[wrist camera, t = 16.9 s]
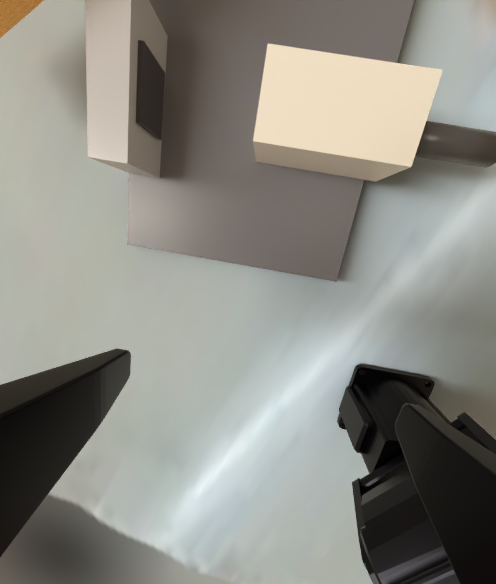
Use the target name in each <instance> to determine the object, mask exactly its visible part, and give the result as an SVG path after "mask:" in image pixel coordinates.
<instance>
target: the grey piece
mask: <svg viewBox="0 0 496 584" xmlns="http://www.w3.org/2000/svg"><path fill="white" fill-rule="evenodd" d="M413 3H414V0H85V31H86V82H87V132H88V157H89V158H92V159H94V160H97V161H100V162H102V163H105V164H107V165H110V166H112V167H115V168H118V169H120V170H123V171H125V172H128V173H129V200H128V241H127V244H129V245H134V246H140V247H145V248H151V249H157V250H162V251H168V252H173V253H179V254H185V255H190V256H196V257H202V258H207V259H213V260H218V261H224V262H230V263H235V264H241V265H247V266H252V267H258V268H263V269H269V270H275V271H280V272H286V273H292V274H297V275H303V276H308V277H314V278H320V279H325V280H331V281H337V277H338V273H339V270H340V266H341V263H342V259H343V255H344V252H345V248H346V245H347V241H348V237H349V234H350V230H351V227H352V223H353V219H354V216H355V212H356V209H357V205H358V201H359V198H360V194H361V191H362V187H363V183H364V180H363V179H357V178H351V177H345V176H339V175H333V174H327V173H321V172H315V171H309V170H302V169H296V168H290V167H284V166H278V165H272V164H266V163H260V162H256V157H255V151H254V145H253V137H254V131H255V124H256V118H257V111H258V104H259V98H260V91H261V84H262V78H263V71H264V65H265V58H266V51H267V45H268V44H275V45H282V46H288V47H295V48H301V49H308V50H315V51H321V52H328V53H334V54H341V55H348V56H354V57H361V58H367V59H374V60H380V61H387V62H394V63H397V61H398V57H399V54H400V50H401V46H402V43H403V39H404V36H405V32H406V28H407V25H408V21H409V18H410V14H411V10H412V7H413Z"/></svg>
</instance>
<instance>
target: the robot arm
mask: <svg viewBox="0 0 496 584" xmlns="http://www.w3.org/2000/svg"><path fill="white" fill-rule="evenodd" d="M130 364H131V354H130V352H129V351H128V350H123V349H114V350H111V351H108V352H104V353H101V354H98V355H95V356H92V357H88V358H85V359H82V360H79V361H76V362H72V363H69V364H66V365H63V366H60V367H56V368H53V369H50V370H47V371H44V372H40V373H37V374H34V375H31V376H28V377H24V378H21V379H18V380H15V381H11V382H8V383H5V384H2V385H0V557H1V556H2V554H3V553H4V551H5V550H6V549H7V548H8V546H9V545H10V544H11V542H12V541H13V540H14V538H15V537H16V535H17V534H18V533H19V532H20V530H21V529H22V528H23V526H24V525H25V524H26V522H27V521H28V520H29V518H30V517H31V516H32V514H33V513H34V512H35V510H36V509H37V508H38V507H39V505H40V504H41V502H42V501H43V500H44V499H45V497H46V496H47V495H48V493H49V492H50V491H51V489H52V488H53V487H54V485H55V484H56V483H57V481H58V480H59V479H60V477H61V476H62V475H63V473H64V472H65V471H66V469H67V468H68V467H69V465H70V464H71V463H72V461H73V460H74V459H75V457H76V456H77V455H78V453H79V452H80V451H81V449H82V448H83V447H84V445H85V444H86V443H87V441H88V440H89V439H90V437H91V436H92V435H93V433H94V432H95V431H96V429H97V428H98V427H99V425H100V424H101V422H102V421H103V419H104V418H105V416H106V415H107V413H108V411H109V410H110V408H111V407H112V405H113V403H114V402H115V400H116V398H117V397H118V395H119V393H120V392H121V390H122V389H123V387H124V385H125V384H126V382H127V380H128V378H129V376H130ZM360 370H363V371H362V372H359V371H360ZM427 382H428V383H427ZM425 383H427V384H425ZM433 387H434V381H433V380H432V379H430V378H429V377H426V376H421V375H416V374H410V373H405V372H400V371H394V370H389V369H384V368H378V367H373V366H368V365H362V364H360V365H357V366H356V367H355V369H354V372H353V375H352V378H351V381H350V384H349V386H348V387H347V388H346V390H345V393H344V396H343V399H342V402H341V405H340V408H339V412H340V414H339V417H338V420H337V422H338V425H339V427H340V428H342V429H346V430H347V432H348V435H349V437H350V440H351V442H352V445H353V447H354V449H355V451H356V452H358V453H361V454H362V457H363V459H364V462H365V464H366V466H367V469H368V471H369V474H368V475H366V476H365V477H363V478H362V479H359V478H358V479H357V480H355V481H353V482H352V486H353V495H354V503H355V511H356V519H357V528H358V536H359V543H360V548H361V555H362V560H363V563H364V565H365V567H366V569H367V571H368V573H369V576H370V578H371V580H372V582H373V584H496V440H495V439H494V438H493V437H492V436H490V435H489V434H488V433H487V432H486V431H485V430H484V429H483V428H482V427H481V426H479V425H478V424H477V423H476V422H475V421H474V420H473V419H472V418H471V417H470V416H468V415H467V414H466V413H465V412H464V413H462V414H461V415H459V416H457V417H458V419H456V420H455V421H453V422H452V423H451V422H450V421H449V420H448V419H447V418H446V417H445V416H444V415H443V414H442V413H441V411H440V410H439V409H438V408H437V407H436V406H435V405H434V404H433V403H432V402H431V401H430V400H429V399H428V398H429V396H430V394H431V392H432V390H433ZM343 422H344V423H343Z"/></svg>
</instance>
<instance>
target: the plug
mask: <svg viewBox="0 0 496 584" xmlns="http://www.w3.org/2000/svg"><path fill="white" fill-rule="evenodd" d="M442 71H443V70H440V69H433V68H427V67H420V66H413V65H407V64H400V63H394V62H387V61H380V60H374V59H367V58H361V57H354V56H348V55H341V54H334V53H328V52H321V51H315V50H308V49H301V48H295V47H288V46H282V45H275V44H268V45H267V51H266V58H265V65H264V71H263V78H262V84H261V91H260V98H259V104H258V111H257V118H256V124H255V131H254V137H253V145H254V151H255V157H256V162H260V163H266V164H272V165H278V166H284V167H290V168H296V169H302V170H309V171H315V172H321V173H327V174H333V175H339V176H345V177H351V178H357V179H363V180H369V181H375V182H376V181H378V180H381V179H383V178H386V177H388V176H391V175H393V174H396V173H398V172H400V171H403V170H405V169H408V168H410V167H412V164H413V161H414V158H415V156H419V157H425V158H431V159H437V160H443V161H450V162H456V163H462V164H468V165H474V166H480V167H489V166H491V165H493V164H494V163H496V132H493V131H486V130H480V129H474V128H467V127H461V126H455V125H448V124H442V123H436V122H429V121H426V120H427V117H428V114H429V111H430V108H431V105H432V102H433V99H434V96H435V93H436V90H437V86H438V83H439V80H440V77H441V74H442Z"/></svg>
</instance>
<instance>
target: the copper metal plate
mask: <svg viewBox="0 0 496 584" xmlns="http://www.w3.org/2000/svg"><path fill="white" fill-rule="evenodd" d="M42 1H43V0H0V38H1V37H2V36H3V35H4V34H5V33H6V32H8V31H9V30H10V29H11V28H12V27H13V26H15V25H16V24H17V23H18V22H19V21H20V20H21V19H23V18H24V17H25V16H26V15H27V14H28V13H30V12H31V11H32V10H33V9H34V8H35V7H36V6H38V5H39V4H40V3H41V2H42Z"/></svg>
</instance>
